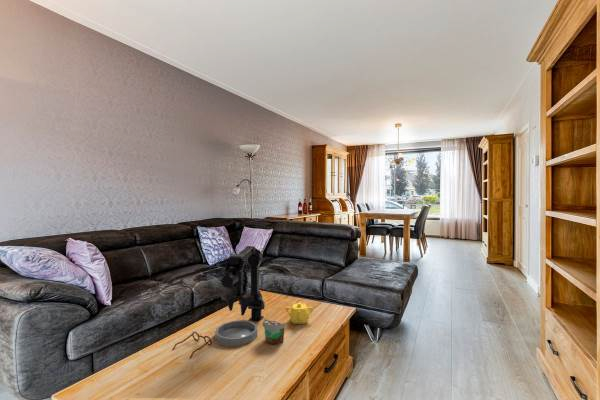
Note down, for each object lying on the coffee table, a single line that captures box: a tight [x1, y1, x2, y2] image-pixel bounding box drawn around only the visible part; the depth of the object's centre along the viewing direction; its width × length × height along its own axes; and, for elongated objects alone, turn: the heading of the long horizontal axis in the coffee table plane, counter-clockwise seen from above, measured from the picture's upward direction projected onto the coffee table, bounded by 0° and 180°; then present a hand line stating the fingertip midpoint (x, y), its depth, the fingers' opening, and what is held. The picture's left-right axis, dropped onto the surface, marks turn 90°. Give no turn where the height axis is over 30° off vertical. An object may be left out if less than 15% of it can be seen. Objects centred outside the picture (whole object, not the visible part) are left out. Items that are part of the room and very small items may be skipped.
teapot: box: [285, 301, 314, 325], centre depth 168 cm, size 14×13×10 cm
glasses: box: [171, 331, 213, 359], centre depth 139 cm, size 13×13×5 cm
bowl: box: [214, 319, 258, 347], centre depth 151 cm, size 21×21×4 cm
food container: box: [262, 317, 287, 346], centre depth 144 cm, size 12×6×10 cm, turn 62°
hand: (236, 312), depth 145 cm, fingers open, 9 cm apart
